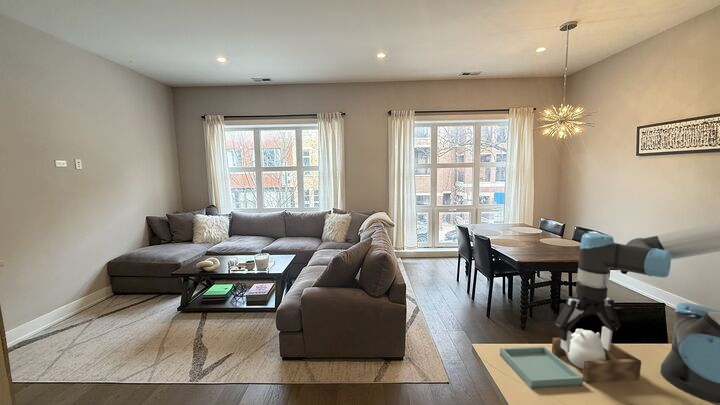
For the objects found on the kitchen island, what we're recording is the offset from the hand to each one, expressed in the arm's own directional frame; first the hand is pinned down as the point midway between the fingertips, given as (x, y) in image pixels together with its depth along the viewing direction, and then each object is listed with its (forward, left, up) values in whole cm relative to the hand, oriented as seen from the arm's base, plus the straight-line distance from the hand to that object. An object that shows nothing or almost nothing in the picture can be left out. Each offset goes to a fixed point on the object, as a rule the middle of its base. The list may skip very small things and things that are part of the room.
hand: (585, 348), depth 92 cm
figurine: (0, 0, -6) cm, 6 cm away
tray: (+13, +9, -6) cm, 17 cm away
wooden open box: (-3, -1, -6) cm, 6 cm away
